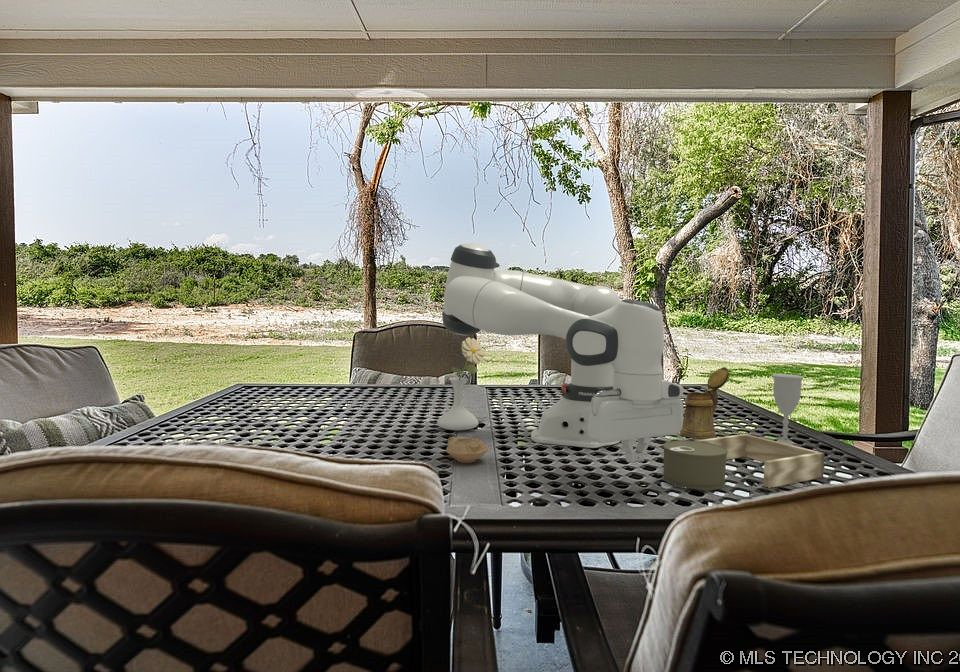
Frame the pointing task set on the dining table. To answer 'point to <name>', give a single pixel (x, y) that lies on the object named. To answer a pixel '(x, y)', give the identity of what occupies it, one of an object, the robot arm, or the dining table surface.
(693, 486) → the can
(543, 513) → the dining table surface
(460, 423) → the flower in vase
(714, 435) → the wooden mug
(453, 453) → the pottery oil lamp
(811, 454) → the box
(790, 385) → the chalice
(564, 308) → the robot arm
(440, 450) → the dining table surface
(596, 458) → the dining table surface
